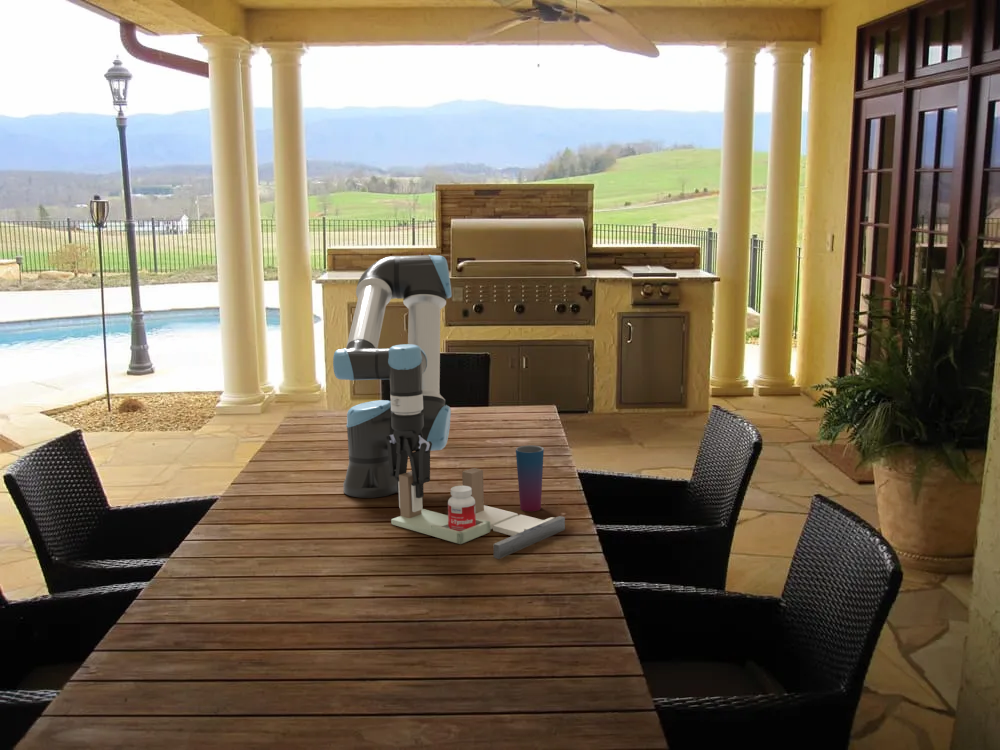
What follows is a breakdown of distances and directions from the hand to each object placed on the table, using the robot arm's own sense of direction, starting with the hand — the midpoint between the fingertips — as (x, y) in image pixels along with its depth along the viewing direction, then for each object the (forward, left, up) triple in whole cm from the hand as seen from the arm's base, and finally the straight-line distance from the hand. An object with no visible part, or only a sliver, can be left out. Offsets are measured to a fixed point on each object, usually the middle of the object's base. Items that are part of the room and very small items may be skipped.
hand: (410, 508), depth 223 cm
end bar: (+32, +5, -3) cm, 32 cm away
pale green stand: (+10, 0, -3) cm, 10 cm away
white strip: (+26, +11, -3) cm, 28 cm away
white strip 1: (+14, +11, -3) cm, 18 cm away
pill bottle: (+16, 0, -3) cm, 17 cm away
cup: (+17, +24, -3) cm, 30 cm away
